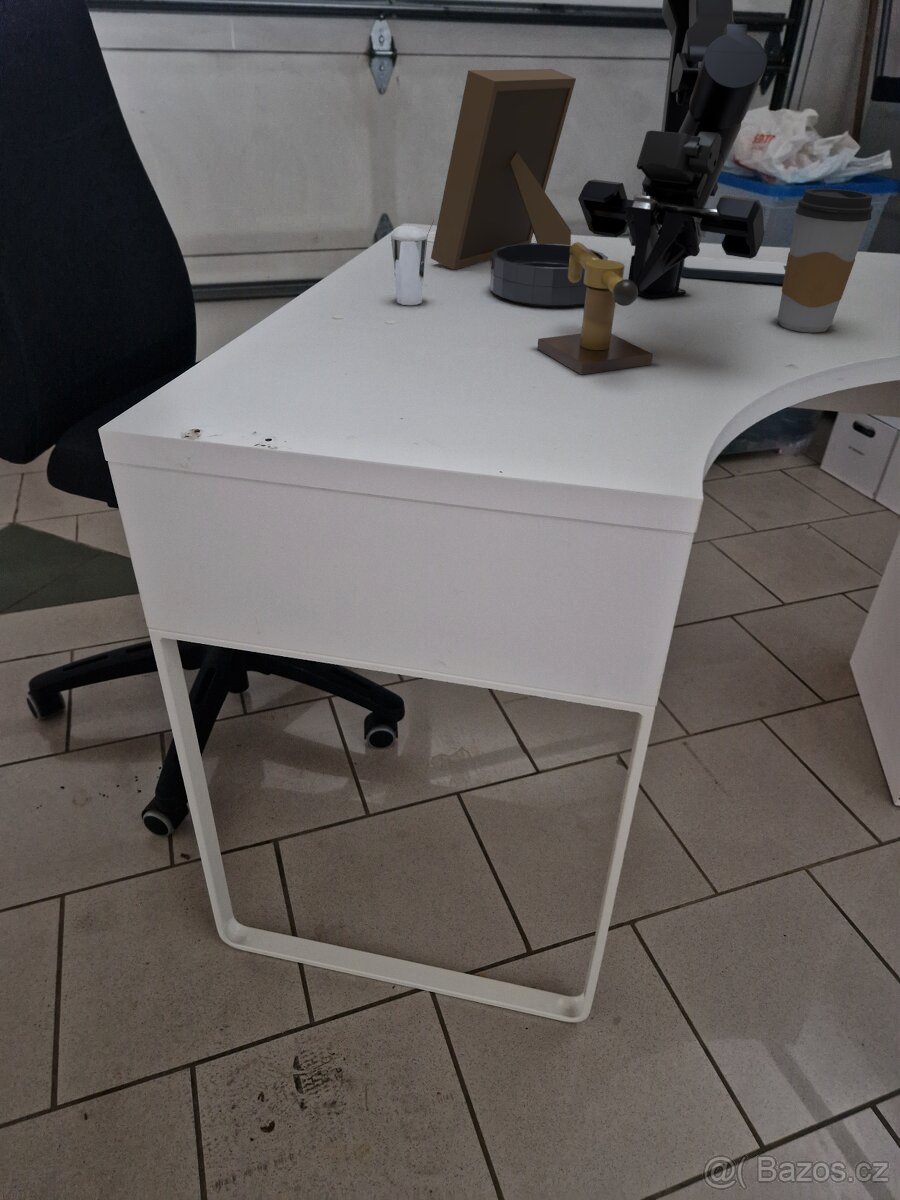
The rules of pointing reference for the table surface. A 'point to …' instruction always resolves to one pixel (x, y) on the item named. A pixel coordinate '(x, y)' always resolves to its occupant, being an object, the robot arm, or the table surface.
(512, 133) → the photo frame
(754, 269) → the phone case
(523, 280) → the basin
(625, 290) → the faucet
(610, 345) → the faucet base
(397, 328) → the table surface
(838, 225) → the coffee cup
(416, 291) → the milkshake
